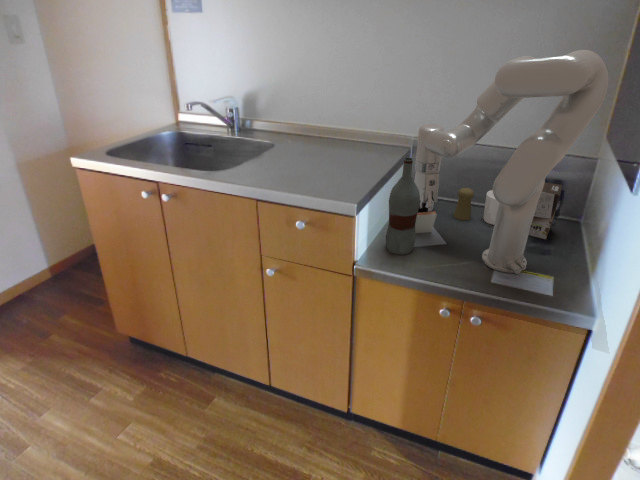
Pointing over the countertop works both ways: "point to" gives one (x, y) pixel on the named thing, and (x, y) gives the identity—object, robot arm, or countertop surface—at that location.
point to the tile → (425, 222)
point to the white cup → (490, 208)
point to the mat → (428, 239)
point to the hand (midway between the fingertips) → (421, 217)
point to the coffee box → (545, 210)
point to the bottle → (403, 212)
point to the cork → (464, 204)
